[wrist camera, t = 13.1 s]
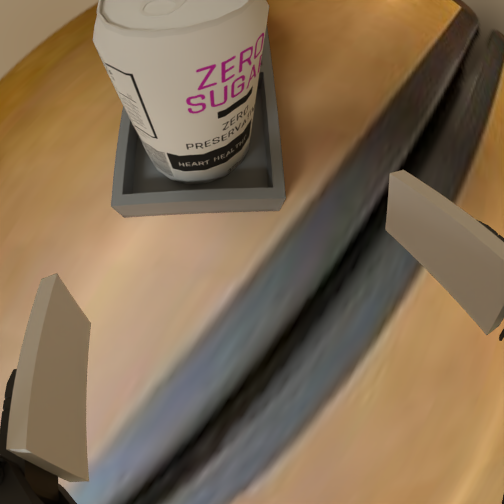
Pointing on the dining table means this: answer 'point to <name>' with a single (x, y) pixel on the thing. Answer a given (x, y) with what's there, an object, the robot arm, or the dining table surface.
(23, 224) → the dining table surface
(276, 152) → the divided grey tray
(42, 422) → the robot arm
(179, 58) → the supplement can
